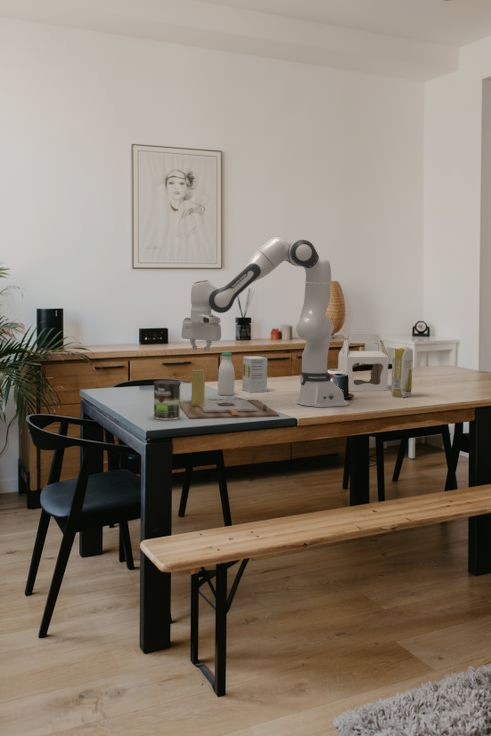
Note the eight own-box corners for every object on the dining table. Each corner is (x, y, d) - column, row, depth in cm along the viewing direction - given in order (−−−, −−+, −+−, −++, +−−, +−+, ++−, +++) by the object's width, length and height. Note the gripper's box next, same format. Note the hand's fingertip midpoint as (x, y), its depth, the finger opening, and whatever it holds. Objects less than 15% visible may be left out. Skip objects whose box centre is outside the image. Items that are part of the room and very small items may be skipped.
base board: (257, 401, 309) (257, 394, 309) (279, 416, 274) (279, 409, 274) (177, 403, 301) (177, 396, 301) (189, 419, 266) (189, 411, 266)
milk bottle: (237, 395, 326) (238, 353, 324) (223, 396, 322) (224, 353, 320) (228, 393, 333) (229, 351, 330) (214, 394, 328) (215, 352, 326)
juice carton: (404, 398, 324) (406, 347, 321) (389, 396, 329) (391, 346, 326) (412, 396, 332) (415, 346, 329) (397, 394, 336) (399, 345, 333)
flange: (245, 402, 301) (246, 367, 299) (262, 414, 273) (262, 376, 271) (189, 403, 295) (189, 368, 293) (200, 415, 267) (200, 377, 265)
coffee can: (173, 421, 262) (173, 384, 260) (149, 418, 265) (149, 382, 264) (185, 416, 271) (185, 381, 270) (161, 414, 275) (161, 379, 273)
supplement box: (241, 390, 342) (242, 356, 340) (258, 389, 346) (259, 355, 344) (250, 393, 333) (250, 358, 331) (267, 392, 337) (267, 357, 335)
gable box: (377, 387, 360) (379, 333, 357) (387, 391, 347) (390, 335, 344) (336, 387, 355) (338, 333, 352) (345, 391, 343) (347, 335, 339)
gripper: (178, 317, 302) (178, 349, 304) (213, 319, 289) (213, 352, 291) (188, 317, 307) (188, 348, 308) (223, 319, 294) (223, 351, 296)
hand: (200, 350), depth 300 cm, fingers open, 6 cm apart
